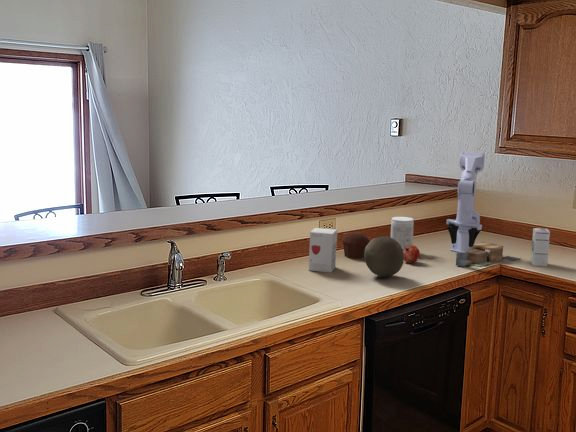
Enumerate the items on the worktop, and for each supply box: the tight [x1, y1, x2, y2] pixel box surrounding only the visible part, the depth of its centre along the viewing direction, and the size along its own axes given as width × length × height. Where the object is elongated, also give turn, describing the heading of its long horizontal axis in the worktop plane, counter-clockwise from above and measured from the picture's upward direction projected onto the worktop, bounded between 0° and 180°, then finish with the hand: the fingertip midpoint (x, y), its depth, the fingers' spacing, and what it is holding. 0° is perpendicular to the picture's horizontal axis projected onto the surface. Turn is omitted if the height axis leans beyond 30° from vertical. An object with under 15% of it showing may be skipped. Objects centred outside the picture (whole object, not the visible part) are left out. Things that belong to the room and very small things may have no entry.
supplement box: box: [308, 227, 338, 273], centre depth 234 cm, size 9×9×15 cm
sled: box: [455, 249, 488, 267], centre depth 250 cm, size 5×16×5 cm, turn 133°
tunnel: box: [472, 241, 504, 264], centre depth 258 cm, size 9×9×6 cm
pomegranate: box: [403, 244, 421, 265], centre depth 249 cm, size 7×7×10 cm
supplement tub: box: [390, 216, 415, 250], centre depth 266 cm, size 10×10×15 cm
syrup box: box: [529, 227, 551, 267], centre depth 251 cm, size 6×6×14 cm
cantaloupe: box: [363, 236, 405, 278], centre depth 225 cm, size 14×14×15 cm
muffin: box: [341, 231, 371, 260], centre depth 257 cm, size 12×11×10 cm
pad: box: [470, 261, 491, 268], centre depth 252 cm, size 10×9×1 cm
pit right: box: [502, 255, 522, 262], centre depth 261 cm, size 6×6×1 cm
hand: (462, 245), depth 244 cm, fingers open, 7 cm apart
